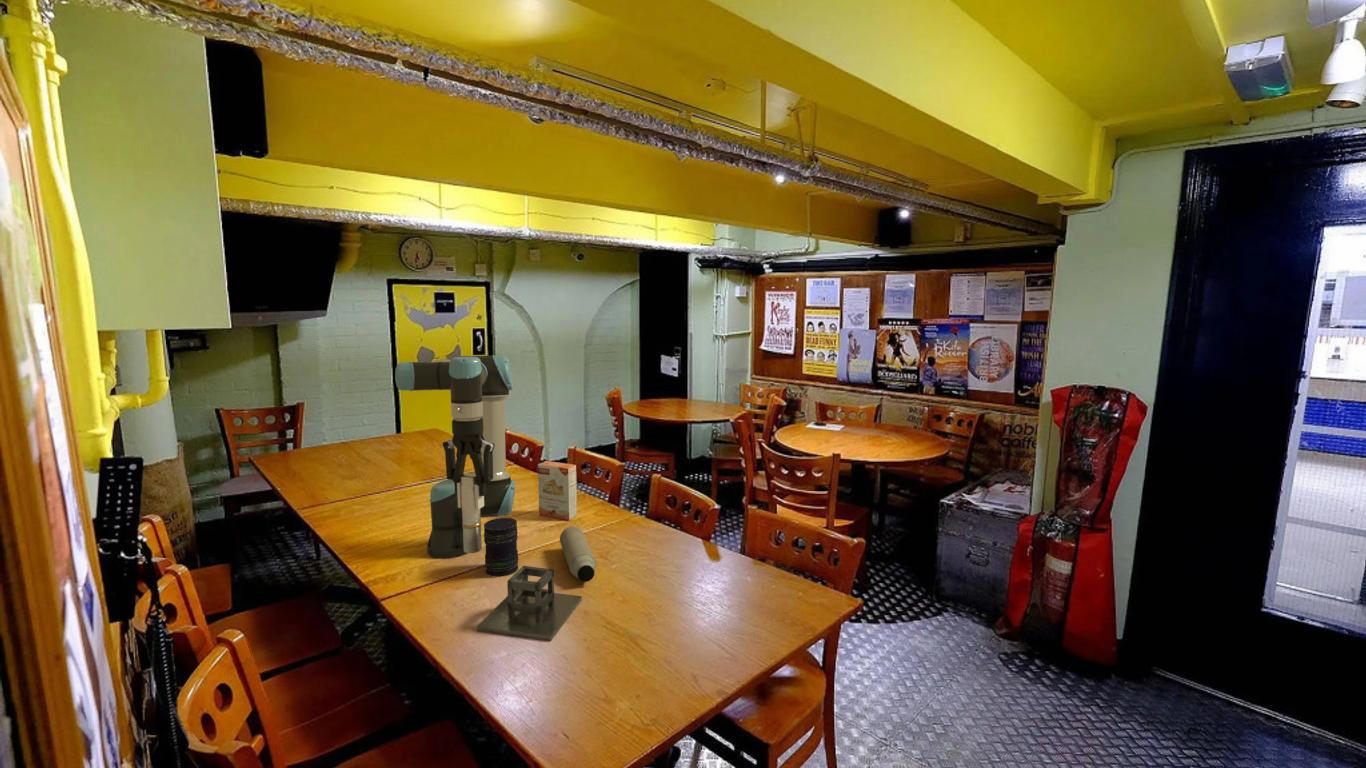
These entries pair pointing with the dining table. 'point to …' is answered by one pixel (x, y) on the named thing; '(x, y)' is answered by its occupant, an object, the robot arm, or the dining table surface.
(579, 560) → the thermos bottle
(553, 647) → the dining table surface
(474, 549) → the steel tube
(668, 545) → the dining table surface
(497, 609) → the collar stand
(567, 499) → the cracker box
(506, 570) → the storage jar
